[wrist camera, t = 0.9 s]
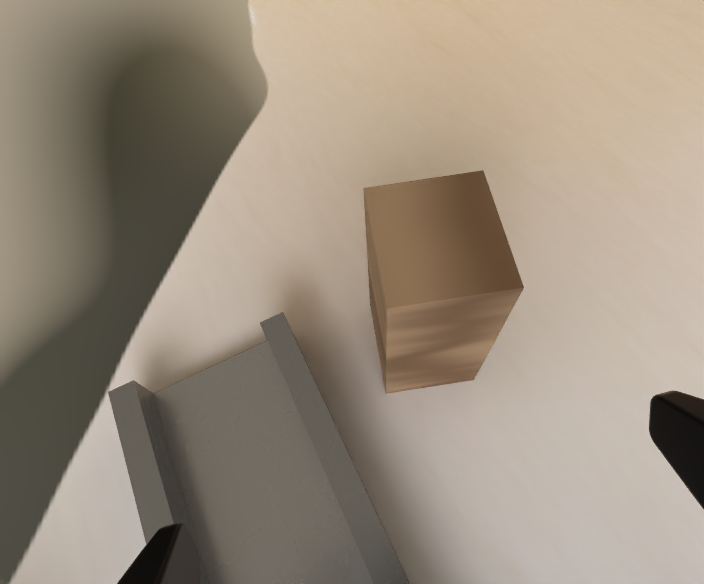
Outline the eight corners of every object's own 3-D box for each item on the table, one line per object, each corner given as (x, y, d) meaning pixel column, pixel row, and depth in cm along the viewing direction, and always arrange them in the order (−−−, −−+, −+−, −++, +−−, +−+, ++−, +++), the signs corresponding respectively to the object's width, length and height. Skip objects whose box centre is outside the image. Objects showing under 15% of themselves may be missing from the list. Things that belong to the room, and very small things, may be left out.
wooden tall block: (386, 393, 25) (386, 308, 16) (370, 305, 27) (363, 188, 18) (473, 379, 25) (524, 287, 16) (450, 293, 27) (483, 170, 18)
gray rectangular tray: (506, 792, 18) (527, 836, 15) (284, 941, 16) (265, 1019, 14) (292, 335, 26) (282, 312, 24) (137, 408, 25) (108, 392, 22)
